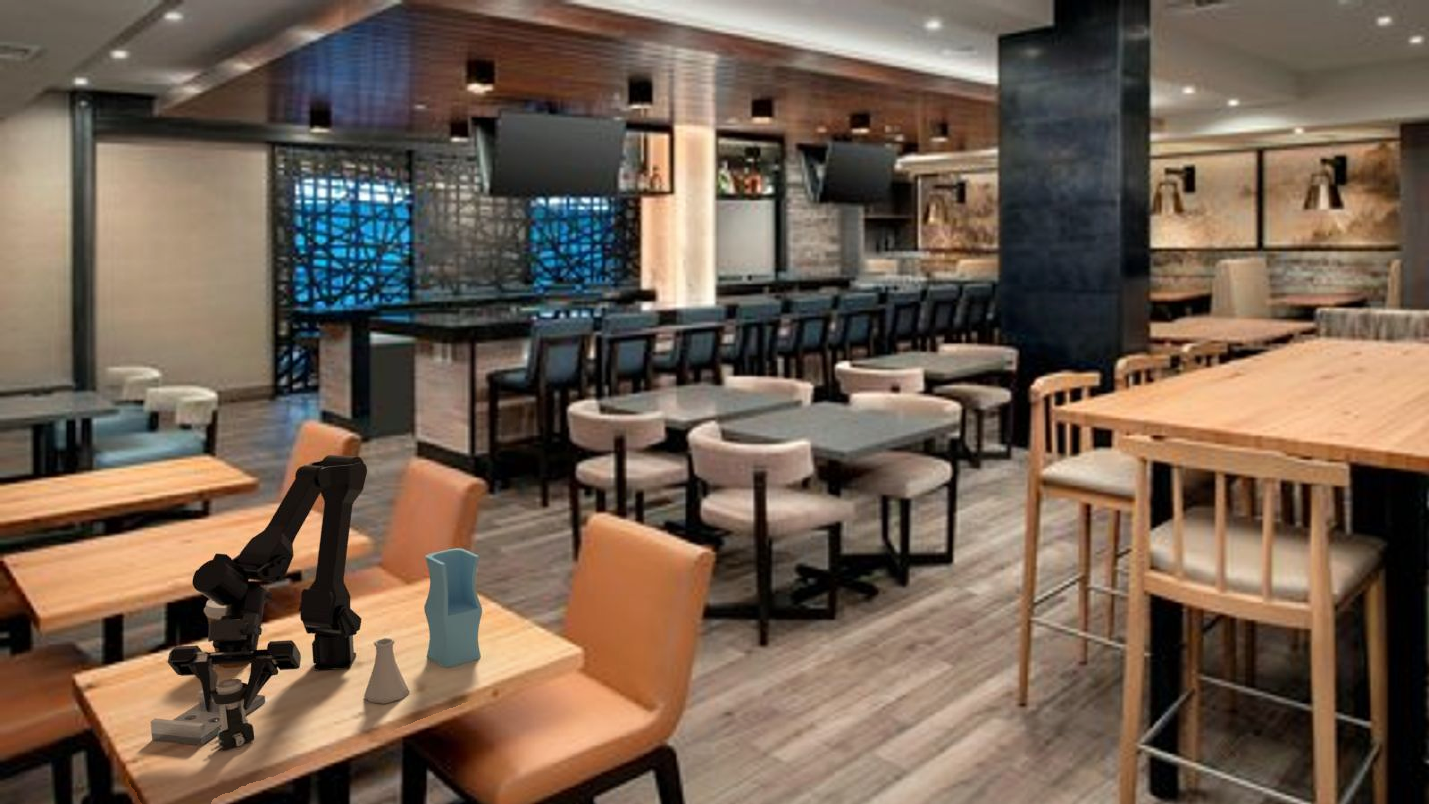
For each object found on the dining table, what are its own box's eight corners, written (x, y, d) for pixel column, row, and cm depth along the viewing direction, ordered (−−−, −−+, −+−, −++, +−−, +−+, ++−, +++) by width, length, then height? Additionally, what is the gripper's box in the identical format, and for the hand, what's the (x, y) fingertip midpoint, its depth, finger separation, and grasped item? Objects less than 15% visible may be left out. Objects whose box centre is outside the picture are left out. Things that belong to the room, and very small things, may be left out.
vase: (445, 668, 193) (441, 564, 190) (426, 656, 199) (421, 555, 196) (483, 657, 198) (480, 556, 195) (463, 645, 204) (459, 547, 201)
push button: (217, 758, 159) (210, 695, 158) (203, 748, 163) (195, 687, 162) (260, 741, 164) (253, 681, 163) (245, 733, 168) (238, 674, 166)
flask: (384, 708, 177) (381, 652, 175) (356, 698, 180) (353, 643, 179) (417, 693, 183) (414, 638, 181) (389, 683, 186) (386, 630, 185)
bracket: (219, 697, 181) (218, 680, 180) (265, 702, 179) (264, 684, 179) (152, 740, 165) (150, 721, 165) (201, 745, 164) (200, 726, 163)
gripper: (166, 598, 162) (145, 695, 153) (291, 592, 165) (277, 687, 156) (188, 628, 171) (169, 721, 162) (306, 622, 174) (294, 713, 165)
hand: (226, 710), depth 161 cm, fingers closed on push button, 5 cm apart
